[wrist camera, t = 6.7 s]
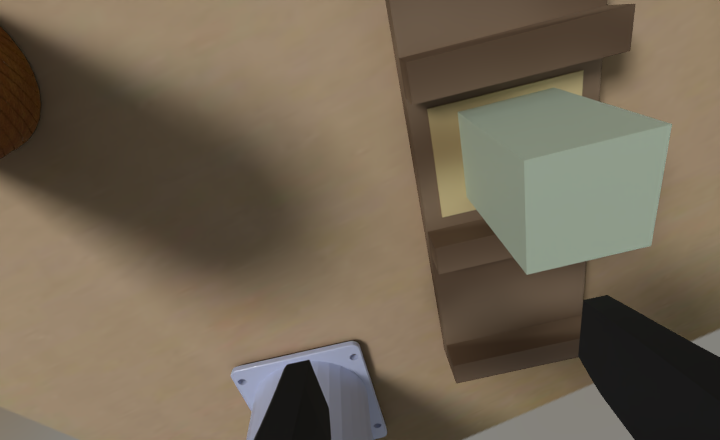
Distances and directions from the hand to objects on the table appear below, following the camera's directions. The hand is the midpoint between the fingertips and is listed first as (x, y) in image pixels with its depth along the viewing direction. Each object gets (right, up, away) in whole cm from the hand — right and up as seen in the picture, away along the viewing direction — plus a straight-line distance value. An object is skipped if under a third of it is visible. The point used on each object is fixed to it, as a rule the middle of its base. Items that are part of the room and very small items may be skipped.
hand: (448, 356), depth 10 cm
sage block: (+4, +7, +6) cm, 10 cm away
